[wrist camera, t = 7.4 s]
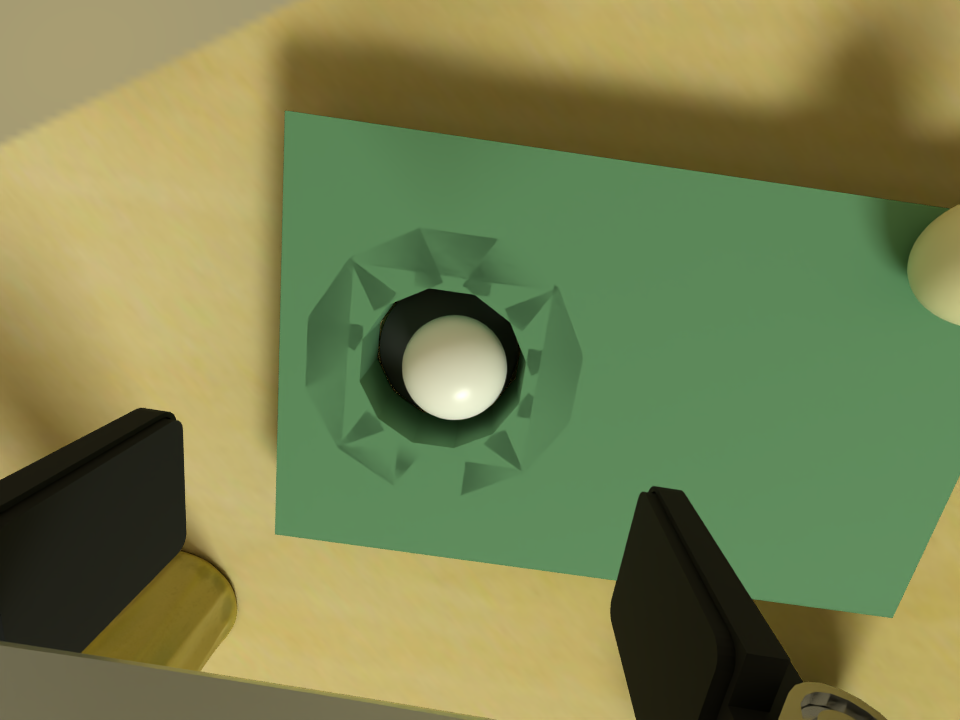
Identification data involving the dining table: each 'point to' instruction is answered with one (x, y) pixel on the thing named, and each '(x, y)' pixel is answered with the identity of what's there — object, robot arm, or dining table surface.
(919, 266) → the yellow ball
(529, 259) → the putting mat
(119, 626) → the vase
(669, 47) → the dining table surface
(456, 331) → the white ball
